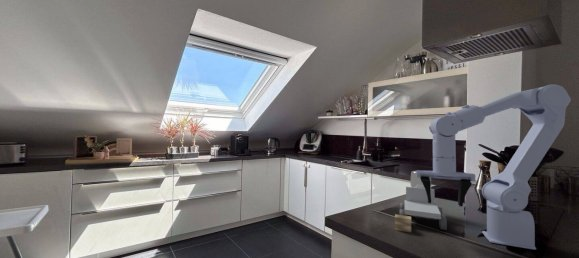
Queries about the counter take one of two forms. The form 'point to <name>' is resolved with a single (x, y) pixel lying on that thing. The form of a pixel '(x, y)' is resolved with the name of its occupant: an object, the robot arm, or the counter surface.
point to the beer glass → (416, 181)
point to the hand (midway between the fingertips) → (444, 203)
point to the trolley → (422, 206)
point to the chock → (403, 223)
